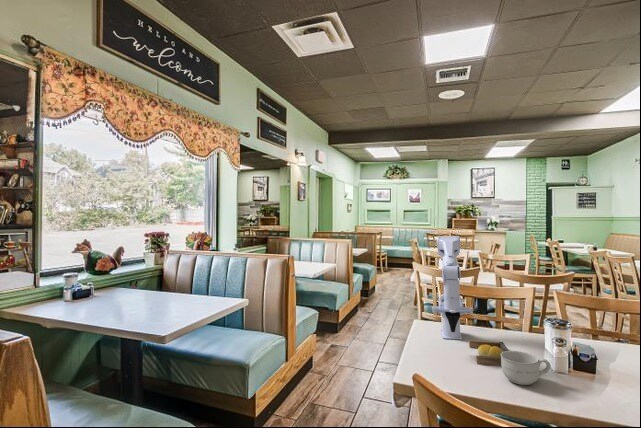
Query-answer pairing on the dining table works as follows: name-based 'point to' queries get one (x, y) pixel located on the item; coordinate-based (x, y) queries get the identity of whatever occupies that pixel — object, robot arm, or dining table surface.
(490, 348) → the bread roll
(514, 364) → the teacup
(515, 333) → the dining table surface
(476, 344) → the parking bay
